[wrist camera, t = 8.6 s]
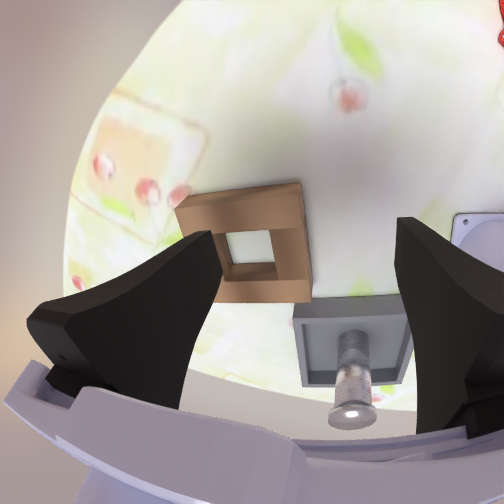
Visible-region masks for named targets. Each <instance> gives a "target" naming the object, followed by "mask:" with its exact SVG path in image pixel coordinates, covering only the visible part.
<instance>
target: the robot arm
mask: <svg viewBox="0 0 504 504" xmlns="http://www.w3.org/2000/svg"><path fill="white" fill-rule="evenodd" d="M465 219H467V220H466V222H464V223H463V221H464V220H465ZM394 266H395V272H396V277H397V283H398V287H399V291H400V294H401V298H402V301H403V304H404V308H405V311H406V315H407V318H408V322H409V326H410V330H411V334H412V339H413V344H414V353H415V362H416V376H417V427H416V435H408V436H401V437H391V438H380V439H379V438H378V439H363V440H301V439H290V438H289V437H286V436H283V435H280V434H278V433H275V432H273V431H270V430H267V429H265V428H262V427H259V426H254V425H250V424H245V423H240V422H236V421H231V420H228V419H223V418H217V417H211V416H205V415H200V414H195V413H190V412H185V411H181V410H178V409H179V403H180V398H181V393H182V388H183V384H184V379H185V376H186V372H187V368H188V365H189V361H190V358H191V355H192V351H193V348H194V345H195V342H196V339H197V337H198V334H199V332H200V330H201V328H202V326H203V323H204V321H205V319H206V317H207V315H208V312H209V310H210V308H211V306H212V304H213V301H214V299H215V297H216V295H217V292H218V289H219V286H220V282H221V279H222V275H223V269H222V266H221V262H220V259H219V256H218V253H217V249H216V246H215V243H214V239H213V236H212V233H211V230H205V231H197V232H194V233H192V234H190V235H188V236H186V237H185V238H183V239H181V240H179V241H178V242H176V243H175V244H173V245H172V246H170V247H168V248H167V249H165V250H164V251H162V252H161V253H159V254H157V255H156V256H154V257H152V258H151V259H149V260H147V261H146V262H144V263H142V264H141V265H139V266H137V267H136V268H134V269H132V270H130V271H128V272H126V273H124V274H122V275H120V276H118V277H116V278H114V279H112V280H110V281H107V282H105V283H103V284H100V285H98V286H96V287H93V288H91V289H88V290H85V291H82V292H79V293H76V294H73V295H70V296H67V297H63V298H59V299H55V300H51V301H46V302H43V303H41V304H40V305H39V306H38V307H37V308H36V309H35V310H34V311H33V312H32V314H31V315H30V316H29V317H28V318H27V327H28V330H29V332H30V334H31V336H32V337H33V339H34V340H35V342H36V343H37V344H38V345H39V347H40V348H41V349H42V350H43V352H44V353H45V354H46V355H47V357H48V358H49V359H50V360H51V361H52V363H53V364H55V365H54V366H53V367H52V369H51V370H50V369H49V368H48V367H46V366H45V365H43V364H41V363H39V362H37V361H35V360H31V361H30V363H29V364H28V365H27V367H26V368H25V369H24V371H23V372H22V374H21V375H20V377H19V378H18V379H17V381H16V383H15V384H14V386H13V387H12V388H11V390H10V391H9V393H8V394H7V396H6V397H5V399H4V401H3V402H4V404H5V405H6V406H7V407H8V408H10V409H11V410H12V411H13V412H14V413H15V414H17V415H18V416H19V417H20V418H21V419H22V420H23V421H25V422H26V423H27V424H28V425H29V426H31V427H32V428H33V429H34V430H36V431H37V432H38V433H40V434H41V435H42V436H43V437H45V438H46V439H48V440H49V441H50V442H52V443H53V444H55V445H56V446H57V447H59V448H60V449H62V450H63V451H65V452H67V453H68V454H70V455H71V456H73V457H74V458H76V459H78V460H79V461H81V462H82V463H84V464H86V465H87V466H89V467H90V469H89V471H88V473H87V475H86V477H85V479H84V481H83V483H82V485H81V487H80V490H79V492H78V494H77V496H76V498H75V500H74V502H73V504H490V503H493V502H495V501H498V500H500V499H503V498H504V214H459V215H457V216H456V217H455V218H454V223H453V231H452V237H451V242H449V241H448V240H446V239H445V238H443V237H442V236H440V235H439V234H438V233H436V232H435V231H433V230H432V229H431V228H429V227H428V226H426V225H425V224H423V223H422V222H420V221H419V220H417V219H415V218H414V217H399V218H397V231H396V248H395V261H394Z"/></svg>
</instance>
